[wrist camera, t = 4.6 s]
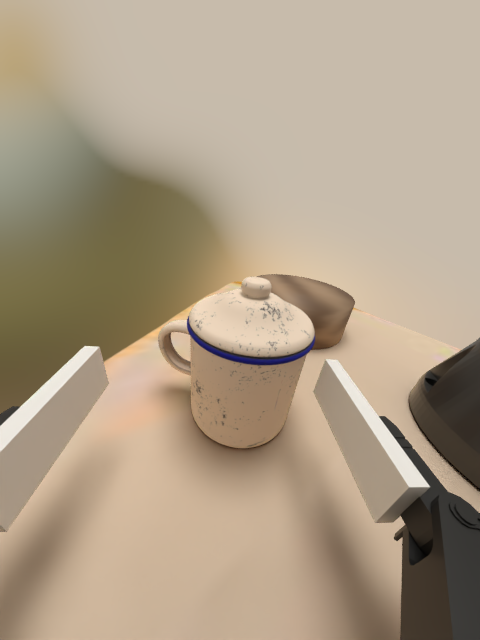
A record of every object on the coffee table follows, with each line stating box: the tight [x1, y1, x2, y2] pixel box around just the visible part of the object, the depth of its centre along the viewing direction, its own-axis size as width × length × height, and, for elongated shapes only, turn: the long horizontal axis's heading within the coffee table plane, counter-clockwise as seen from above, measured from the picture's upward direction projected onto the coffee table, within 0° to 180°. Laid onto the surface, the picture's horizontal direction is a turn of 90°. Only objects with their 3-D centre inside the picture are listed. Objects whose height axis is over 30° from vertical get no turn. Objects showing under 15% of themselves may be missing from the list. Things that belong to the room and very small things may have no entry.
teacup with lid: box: [158, 277, 315, 448], centre depth 16 cm, size 12×9×12 cm
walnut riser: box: [257, 274, 355, 350], centre depth 34 cm, size 16×16×6 cm
